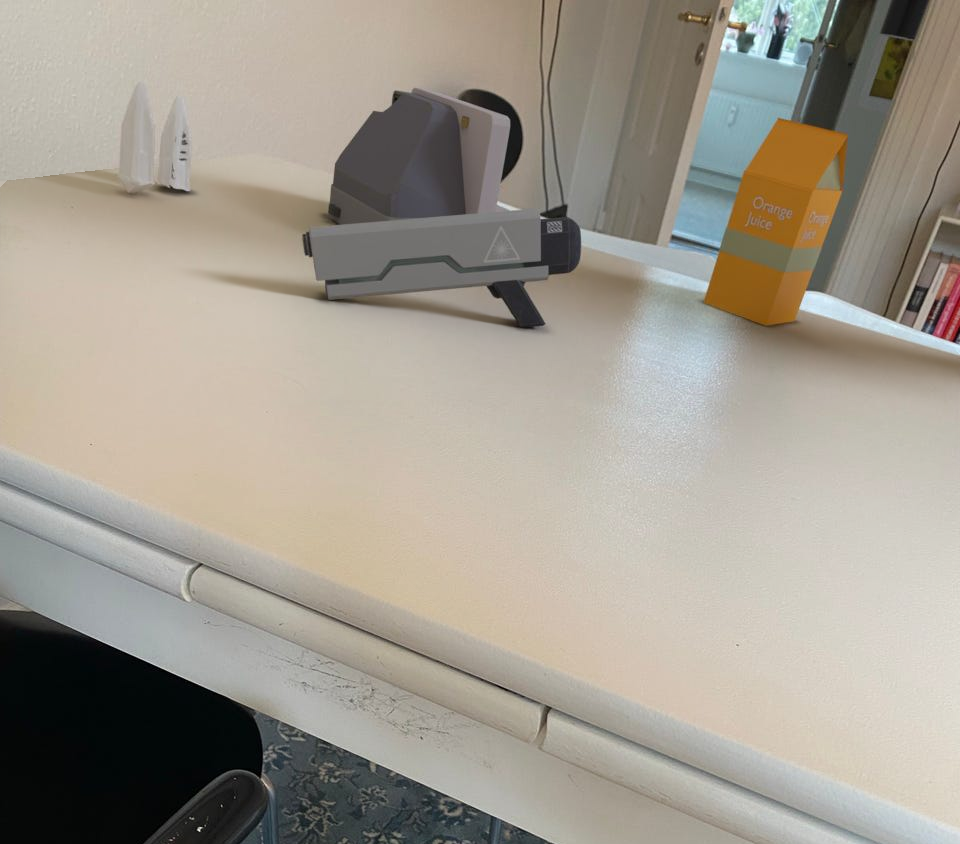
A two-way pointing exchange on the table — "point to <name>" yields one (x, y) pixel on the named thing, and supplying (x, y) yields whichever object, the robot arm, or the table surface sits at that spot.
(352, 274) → the gun
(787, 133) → the orange juice
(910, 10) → the torch
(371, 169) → the instant camera
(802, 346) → the table surface
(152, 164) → the shaker set
